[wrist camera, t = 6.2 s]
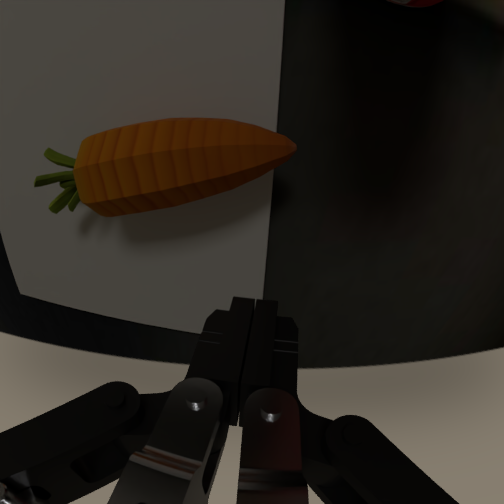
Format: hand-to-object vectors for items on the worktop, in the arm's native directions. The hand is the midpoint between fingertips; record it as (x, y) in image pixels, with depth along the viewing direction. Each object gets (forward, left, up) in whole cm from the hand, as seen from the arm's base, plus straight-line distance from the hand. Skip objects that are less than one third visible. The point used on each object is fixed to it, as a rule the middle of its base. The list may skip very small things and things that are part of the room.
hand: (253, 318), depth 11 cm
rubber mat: (+12, -4, -10) cm, 16 cm away
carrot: (-1, -5, -7) cm, 8 cm away
